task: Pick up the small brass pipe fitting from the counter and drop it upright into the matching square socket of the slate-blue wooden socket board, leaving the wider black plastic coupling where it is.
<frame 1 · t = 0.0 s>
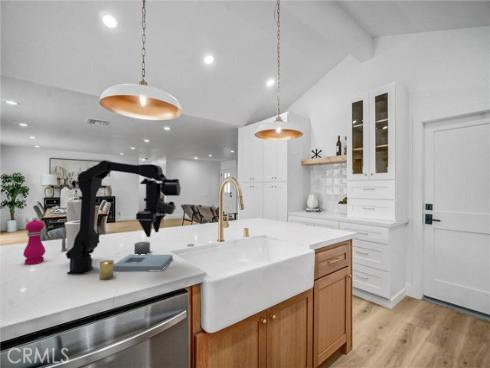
hand: (152, 234, 96), 15 cm above the countertop, tool pointing down, fingers open, 9 cm apart
socket board: (144, 264, 104), on the countertop
pepper mill: (34, 262, 105), on the countertop
brass fitting: (106, 278, 89), on the countertop
black coupling: (142, 253, 122), on the countertop
skyscraper: (73, 250, 127), on the countertop
cup: (79, 263, 105), on the countertop
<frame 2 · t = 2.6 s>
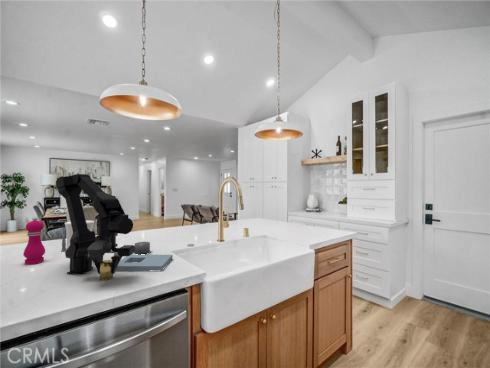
hand: (106, 273, 89), 2 cm above the countertop, tool pointing down, fingers closed on brass fitting, 4 cm apart
brass fitting: (106, 278, 89), on the countertop, touching gripper
everything else where it was.
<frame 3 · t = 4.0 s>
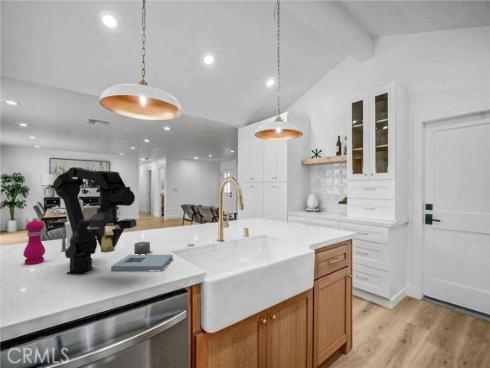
hand: (107, 246, 89), 11 cm above the countertop, tool pointing down, fingers closed on brass fitting, 4 cm apart
brass fitting: (107, 250, 89), point 10 cm above the countertop, touching gripper
everything else where it was.
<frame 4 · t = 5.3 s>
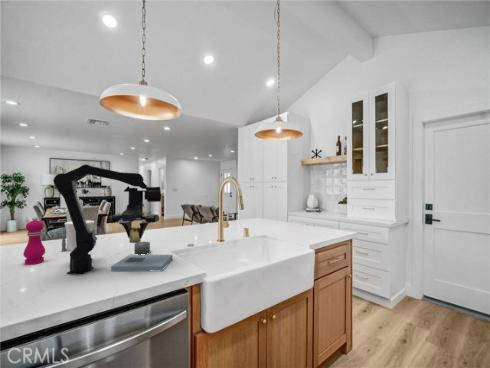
hand: (135, 238, 104), 11 cm above the countertop, tool pointing down, fingers closed on brass fitting, 4 cm apart
brass fitting: (135, 241, 104), point 10 cm above the countertop, touching gripper
everything else where it was.
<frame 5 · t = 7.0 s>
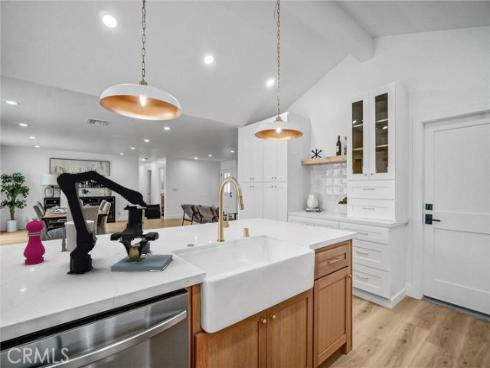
hand: (134, 256, 104), 4 cm above the countertop, tool pointing down, fingers closed on brass fitting, 4 cm apart
brass fitting: (134, 259, 104), point 2 cm above the countertop, touching gripper
everything else where it was.
when the fingers open (3 cm above the countertop, at t = 8.5 s): brass fitting drops 1 cm, resting in socket board.
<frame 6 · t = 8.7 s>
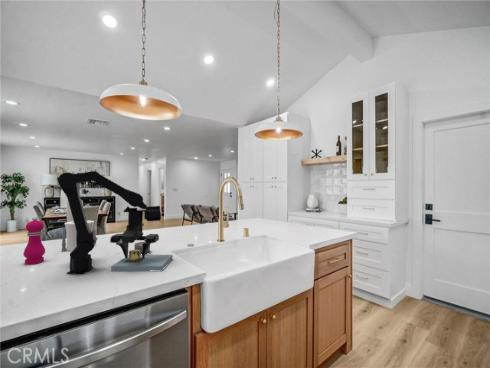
hand: (134, 258, 104), 3 cm above the countertop, tool pointing down, fingers open, 7 cm apart
brass fitting: (134, 264, 104), resting in socket board
everything else where it was.
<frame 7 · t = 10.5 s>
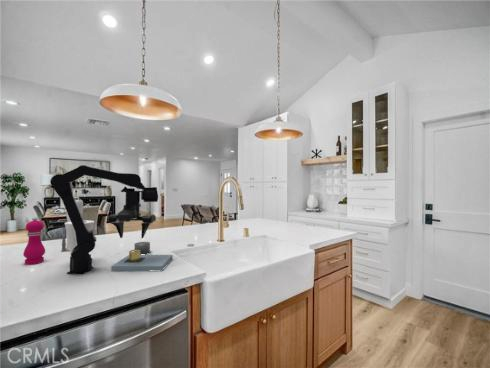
hand: (131, 238, 105), 11 cm above the countertop, tool pointing down, fingers open, 9 cm apart
nothing on the countertop moved.
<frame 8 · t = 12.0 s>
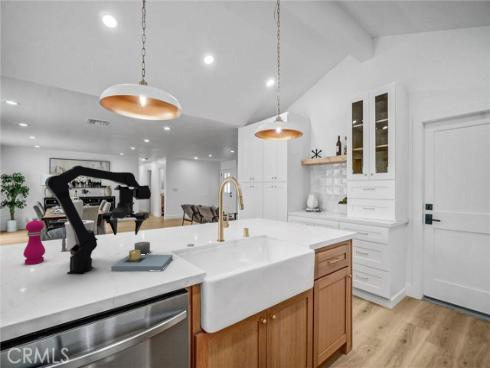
hand: (125, 234, 108), 12 cm above the countertop, tool pointing down, fingers open, 9 cm apart
nothing on the countertop moved.
at the end: brass fitting 0.1 cm from the target spot on the socket board, point 0.0 cm above the socket board's base; brass fitting tilted 0°; the gripper is holding nothing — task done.
